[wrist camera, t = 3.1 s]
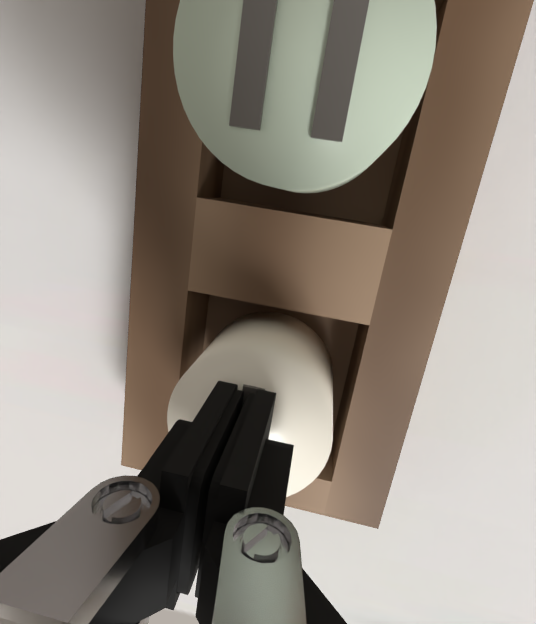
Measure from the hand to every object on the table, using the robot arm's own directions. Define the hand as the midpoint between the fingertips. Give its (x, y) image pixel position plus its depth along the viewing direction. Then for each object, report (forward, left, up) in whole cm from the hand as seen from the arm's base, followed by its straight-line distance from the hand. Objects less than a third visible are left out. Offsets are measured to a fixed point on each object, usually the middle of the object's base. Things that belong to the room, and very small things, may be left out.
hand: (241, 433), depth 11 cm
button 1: (0, 0, -4) cm, 4 cm away
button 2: (0, -9, -3) cm, 9 cm away
